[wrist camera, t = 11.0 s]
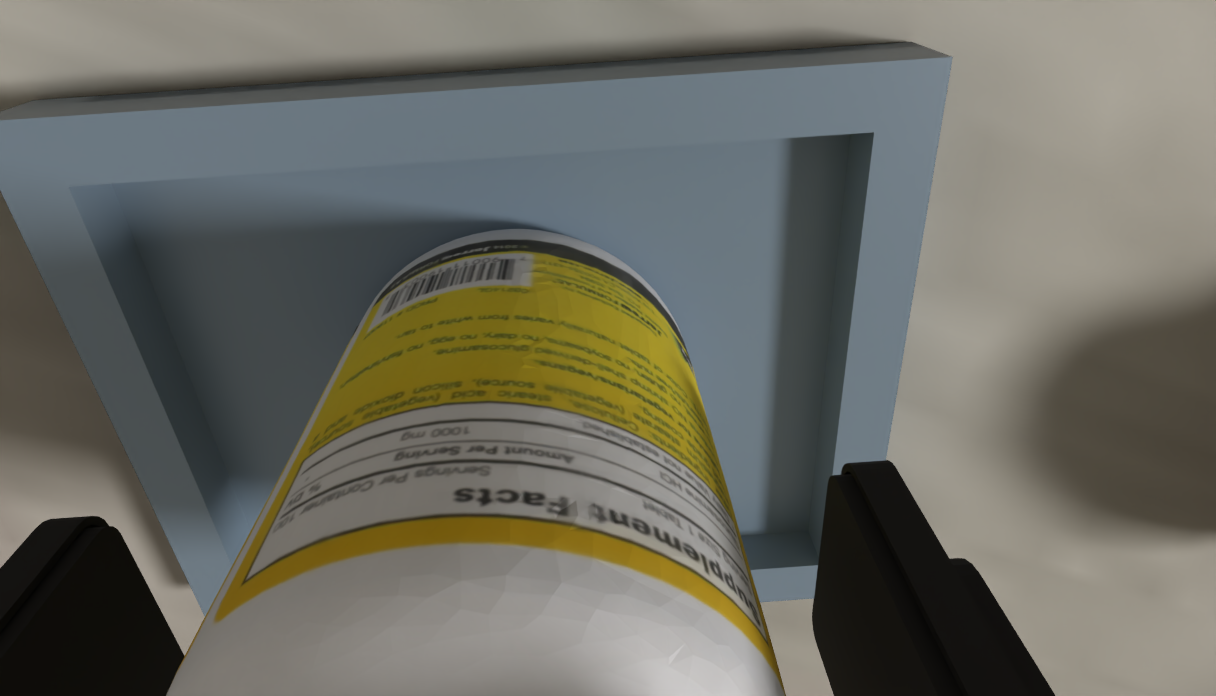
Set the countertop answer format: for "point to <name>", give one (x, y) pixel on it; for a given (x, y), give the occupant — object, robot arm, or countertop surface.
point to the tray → (479, 202)
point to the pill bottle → (497, 502)
